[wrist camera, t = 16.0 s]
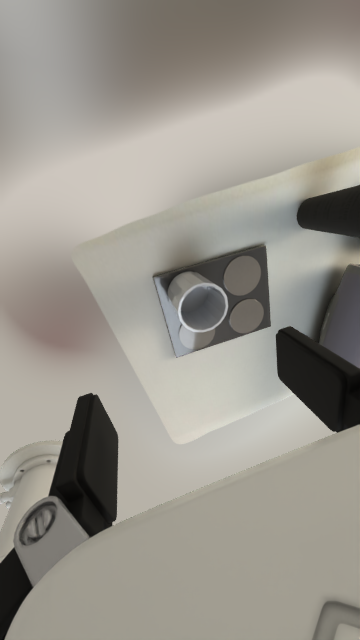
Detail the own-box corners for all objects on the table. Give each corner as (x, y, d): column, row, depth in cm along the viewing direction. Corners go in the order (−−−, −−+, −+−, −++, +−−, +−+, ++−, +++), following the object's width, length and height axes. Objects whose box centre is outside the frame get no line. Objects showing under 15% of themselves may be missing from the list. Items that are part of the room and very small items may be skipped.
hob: (175, 355, 44) (176, 358, 43) (152, 276, 37) (153, 278, 36) (268, 324, 46) (271, 327, 45) (263, 244, 39) (267, 245, 38)
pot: (173, 317, 39) (184, 338, 32) (162, 278, 36) (172, 291, 29) (211, 305, 40) (231, 323, 33) (204, 266, 37) (224, 276, 30)
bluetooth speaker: (331, 359, 55) (372, 385, 46) (299, 361, 53) (335, 390, 44) (367, 263, 46) (426, 273, 37) (330, 261, 44) (383, 271, 35)
